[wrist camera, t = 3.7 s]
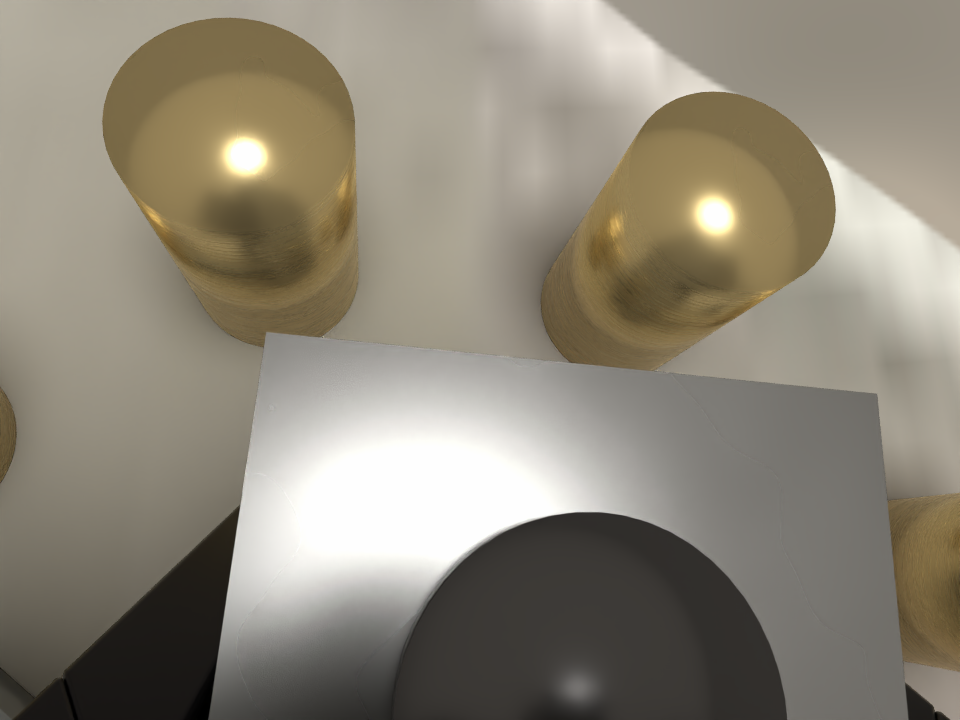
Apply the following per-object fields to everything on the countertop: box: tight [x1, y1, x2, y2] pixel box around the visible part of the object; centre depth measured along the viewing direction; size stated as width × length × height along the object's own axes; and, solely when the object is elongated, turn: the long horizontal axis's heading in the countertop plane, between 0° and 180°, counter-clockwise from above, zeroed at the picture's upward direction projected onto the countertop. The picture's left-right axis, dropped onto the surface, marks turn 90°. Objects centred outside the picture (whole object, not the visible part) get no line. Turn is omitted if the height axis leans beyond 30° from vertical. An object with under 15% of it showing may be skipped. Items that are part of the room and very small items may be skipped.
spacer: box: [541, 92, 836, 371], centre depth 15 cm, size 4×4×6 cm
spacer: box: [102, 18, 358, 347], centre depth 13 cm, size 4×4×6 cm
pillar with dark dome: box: [209, 332, 908, 720], centre depth 10 cm, size 4×4×11 cm
